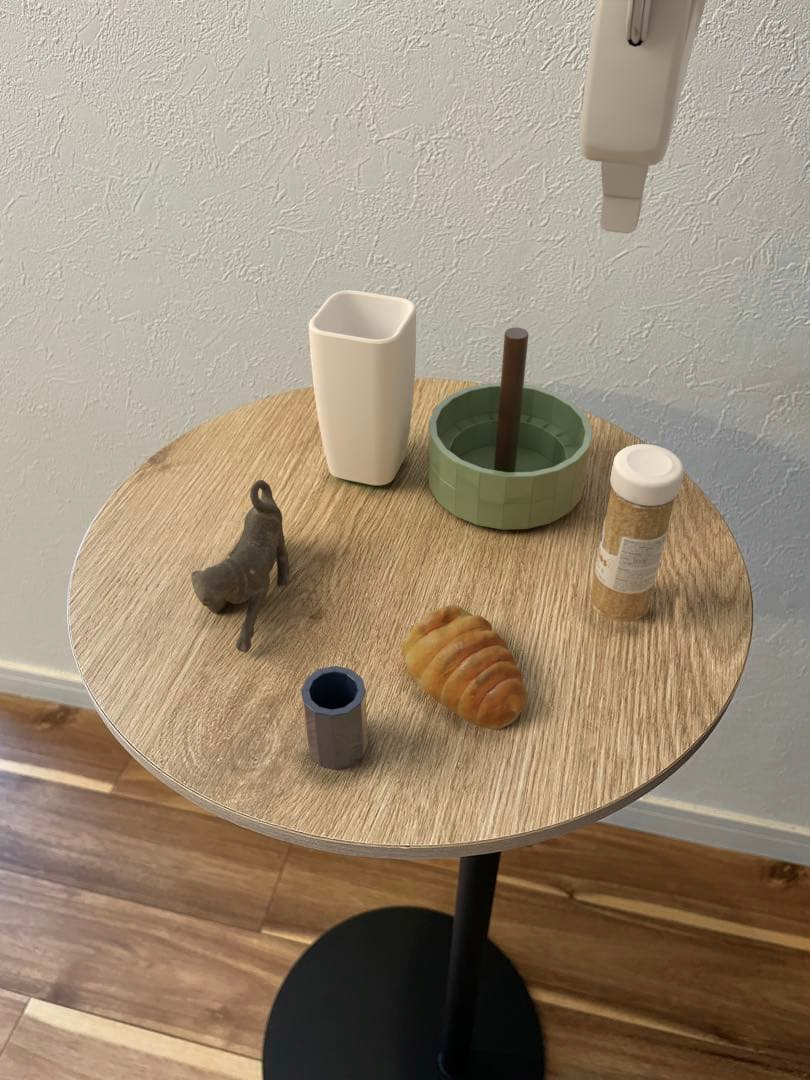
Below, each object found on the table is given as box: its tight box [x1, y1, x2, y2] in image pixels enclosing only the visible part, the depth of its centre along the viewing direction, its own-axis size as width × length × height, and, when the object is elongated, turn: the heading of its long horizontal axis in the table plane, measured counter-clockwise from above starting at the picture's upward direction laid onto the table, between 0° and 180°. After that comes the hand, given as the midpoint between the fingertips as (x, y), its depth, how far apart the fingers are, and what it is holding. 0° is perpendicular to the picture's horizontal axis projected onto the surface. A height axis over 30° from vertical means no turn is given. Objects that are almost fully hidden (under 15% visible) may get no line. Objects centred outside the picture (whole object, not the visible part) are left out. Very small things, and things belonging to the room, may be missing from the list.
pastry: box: [401, 604, 529, 730], centre depth 65 cm, size 9×7×4 cm
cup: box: [308, 289, 417, 487], centre depth 80 cm, size 7×7×15 cm
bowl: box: [427, 382, 594, 530], centre depth 81 cm, size 13×13×6 cm
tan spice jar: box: [588, 443, 684, 623], centre depth 68 cm, size 5×5×14 cm
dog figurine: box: [190, 479, 290, 653], centre depth 70 cm, size 12×6×7 cm, turn 166°
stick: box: [494, 326, 530, 472], centre depth 78 cm, size 2×2×14 cm
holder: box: [300, 665, 369, 770], centre depth 60 cm, size 4×4×6 cm
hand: (630, 190), depth 51 cm, fingers open, 8 cm apart
